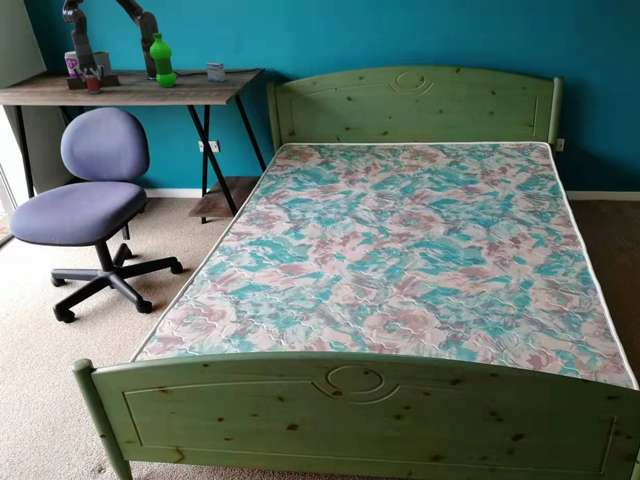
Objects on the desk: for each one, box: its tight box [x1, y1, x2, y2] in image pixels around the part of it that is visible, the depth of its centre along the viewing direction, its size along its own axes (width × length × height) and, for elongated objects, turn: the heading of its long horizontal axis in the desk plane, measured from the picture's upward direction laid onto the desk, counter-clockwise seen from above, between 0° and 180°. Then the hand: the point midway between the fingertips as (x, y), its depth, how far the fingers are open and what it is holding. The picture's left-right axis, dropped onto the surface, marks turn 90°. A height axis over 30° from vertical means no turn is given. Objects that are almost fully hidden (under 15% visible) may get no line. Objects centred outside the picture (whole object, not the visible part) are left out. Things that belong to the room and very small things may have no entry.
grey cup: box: [93, 50, 113, 75], centre depth 324 cm, size 10×10×12 cm
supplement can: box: [64, 50, 83, 78], centre depth 311 cm, size 8×8×15 cm
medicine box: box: [205, 61, 226, 83], centre depth 310 cm, size 8×4×9 cm, turn 68°
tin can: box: [85, 74, 102, 95], centre depth 296 cm, size 6×6×9 cm
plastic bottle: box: [150, 32, 177, 88], centre depth 299 cm, size 10×10×25 cm
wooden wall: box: [65, 72, 121, 91], centre depth 306 cm, size 24×4×6 cm, turn 107°
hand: (94, 88), depth 297 cm, fingers closed on tin can, 5 cm apart
